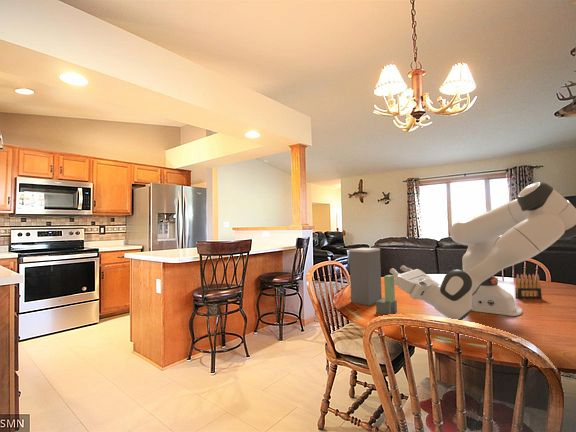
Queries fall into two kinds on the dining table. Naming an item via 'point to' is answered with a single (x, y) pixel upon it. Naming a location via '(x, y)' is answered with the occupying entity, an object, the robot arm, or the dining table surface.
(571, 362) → the dining table surface
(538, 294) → the ammunition clip
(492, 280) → the robot arm
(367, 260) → the stand
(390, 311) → the green l-shaped block
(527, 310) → the dining table surface
